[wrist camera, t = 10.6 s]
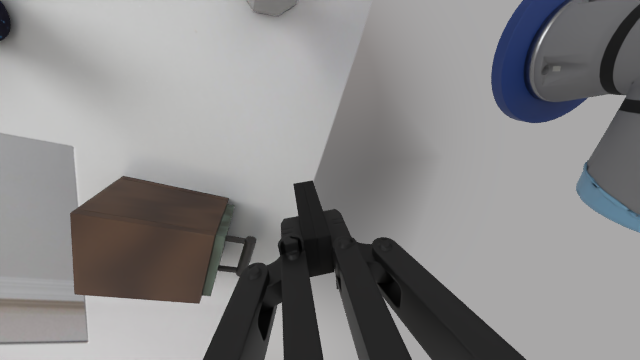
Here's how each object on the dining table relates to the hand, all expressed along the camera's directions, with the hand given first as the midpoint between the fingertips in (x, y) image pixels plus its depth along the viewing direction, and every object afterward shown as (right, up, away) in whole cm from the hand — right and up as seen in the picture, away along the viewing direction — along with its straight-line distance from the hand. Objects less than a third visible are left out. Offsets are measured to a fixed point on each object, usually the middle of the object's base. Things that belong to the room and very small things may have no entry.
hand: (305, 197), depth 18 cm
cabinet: (-23, -5, +19) cm, 30 cm away
